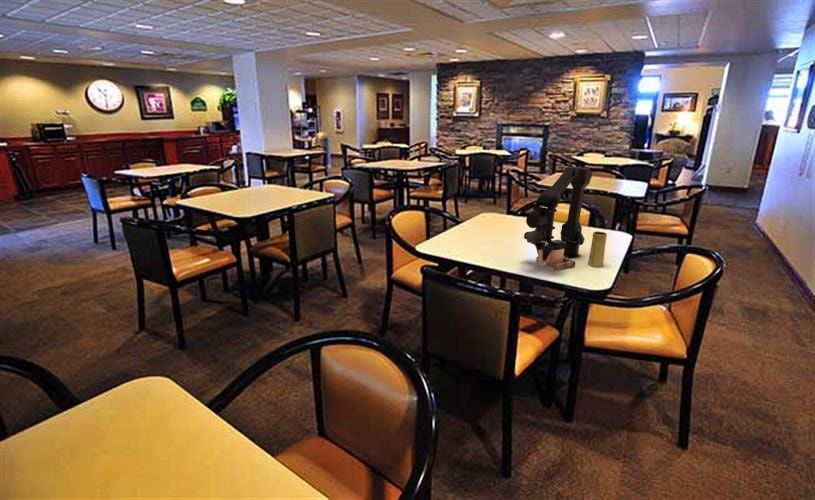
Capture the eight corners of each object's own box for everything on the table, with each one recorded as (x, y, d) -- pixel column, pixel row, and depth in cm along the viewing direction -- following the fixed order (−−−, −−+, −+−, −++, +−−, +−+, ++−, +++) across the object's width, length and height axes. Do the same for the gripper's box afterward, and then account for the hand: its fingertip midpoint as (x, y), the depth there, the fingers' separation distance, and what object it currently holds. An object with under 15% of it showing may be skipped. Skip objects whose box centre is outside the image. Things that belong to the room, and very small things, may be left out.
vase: (604, 267, 183) (609, 235, 178) (589, 266, 184) (593, 234, 180) (601, 263, 189) (606, 231, 184) (586, 262, 190) (590, 230, 185)
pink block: (553, 261, 191) (556, 241, 188) (565, 266, 185) (568, 246, 182) (532, 265, 186) (534, 245, 183) (544, 270, 180) (546, 250, 177)
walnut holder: (554, 258, 194) (554, 253, 193) (574, 267, 184) (575, 261, 183) (536, 262, 190) (536, 256, 189) (556, 271, 179) (556, 265, 179)
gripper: (515, 220, 182) (512, 255, 187) (547, 231, 166) (543, 270, 171) (535, 217, 186) (532, 252, 191) (568, 228, 171) (564, 265, 176)
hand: (542, 259), depth 182 cm, fingers closed on pink block
